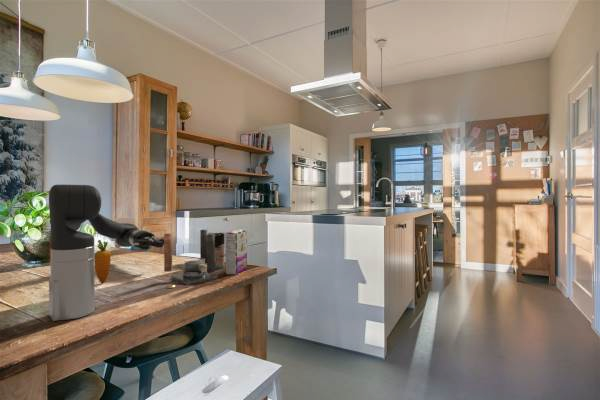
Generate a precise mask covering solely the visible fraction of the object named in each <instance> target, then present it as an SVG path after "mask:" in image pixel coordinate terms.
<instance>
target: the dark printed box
mask: <svg viewBox="0 0 600 400" xmlns="http://www.w3.org/2000/svg"><path fill="white" fill-rule="evenodd" d="M225 233H226V232H225V231H223V230H212V231H207V235H208V234H215V270H221V269H225V255H226V243H225V241H226V240H225Z"/></svg>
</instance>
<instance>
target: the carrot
mask: <svg viewBox="0 0 600 400" xmlns="http://www.w3.org/2000/svg"><path fill="white" fill-rule="evenodd" d="M97 243H98V244H97V248H98V249H99V250H97V251H96V252H94V271H95V274H96V277H97V278H98V280H99V282H100V283H101V284H105V282H107V279H108V276H109V274H110V268H111V262H112V261H111V257H112V254H111V251H110V250H106V249H107V247H108V245H109V242H108V241H103V242H102V241H101V239H98V240H97Z"/></svg>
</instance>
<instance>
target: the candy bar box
mask: <svg viewBox="0 0 600 400" xmlns="http://www.w3.org/2000/svg"><path fill="white" fill-rule="evenodd" d="M247 232H248V231H247V229H234V230H230V231H228V232H225V274H226V275H228V276H229V275H233V276H235V275H236V276H237V275H240V273H242V272H244V271H246V270H247V269H248V244H247V243H248V241H247V239H248V235H247Z"/></svg>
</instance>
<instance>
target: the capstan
mask: <svg viewBox="0 0 600 400" xmlns="http://www.w3.org/2000/svg"><path fill="white" fill-rule="evenodd" d="M199 235H200V240H199V242H200V249H199V251H200V252H199V253H200V254H199V255H200V259H197V260H189V261H185V262H184V263H183V262H182V263H173V233H169V232H168V233H164V234H163V237H164V245H163V247H164V249H163V250H164V251H163V253H164V254H163V255H164V256H163V259H164V260H163V263H164V264H163V265H164V266H163V267H164V268H163V271H164V272H165V273H167V272H168V273H169V272H175V271H183V270H185V271H189V272H194V271H204V272H207V273H211V274H214V273H215V270H216V269H215V234H208V229H200V234H199Z"/></svg>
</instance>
